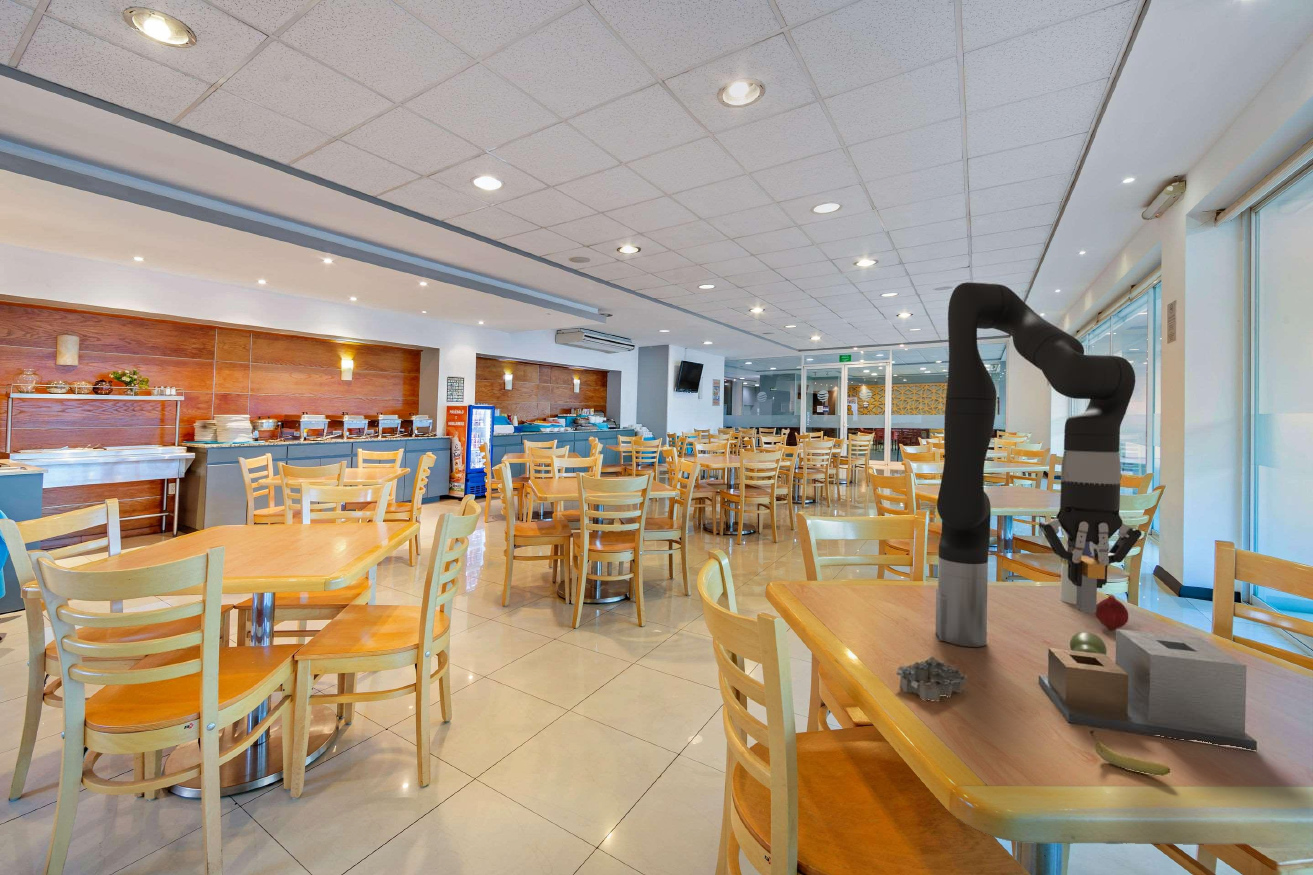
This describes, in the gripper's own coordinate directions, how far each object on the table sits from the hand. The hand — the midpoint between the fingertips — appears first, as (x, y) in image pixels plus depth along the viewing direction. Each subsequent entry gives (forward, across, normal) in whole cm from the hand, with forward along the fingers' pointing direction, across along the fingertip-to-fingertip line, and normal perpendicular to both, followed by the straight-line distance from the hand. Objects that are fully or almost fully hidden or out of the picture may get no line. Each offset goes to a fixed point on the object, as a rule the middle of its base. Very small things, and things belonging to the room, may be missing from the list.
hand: (1086, 585), depth 88 cm
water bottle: (+20, -20, -65) cm, 71 cm away
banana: (+20, +1, +18) cm, 27 cm away
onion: (+20, -20, -43) cm, 51 cm away
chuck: (+20, -7, 0) cm, 21 cm away
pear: (+20, -7, -20) cm, 29 cm away
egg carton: (+20, +22, +2) cm, 30 cm away
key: (+4, 0, 0) cm, 4 cm away
